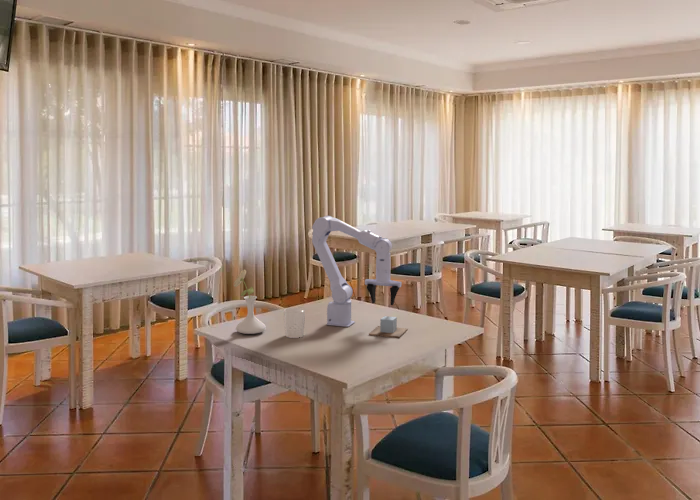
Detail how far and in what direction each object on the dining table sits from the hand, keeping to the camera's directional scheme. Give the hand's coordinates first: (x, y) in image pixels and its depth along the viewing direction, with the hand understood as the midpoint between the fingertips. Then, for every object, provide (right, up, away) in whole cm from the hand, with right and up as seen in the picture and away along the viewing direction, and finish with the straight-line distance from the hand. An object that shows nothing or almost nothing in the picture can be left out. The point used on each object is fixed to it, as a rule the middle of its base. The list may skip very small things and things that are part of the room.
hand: (382, 303), depth 249 cm
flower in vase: (-51, -11, -7) cm, 53 cm away
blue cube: (+2, -10, -7) cm, 12 cm away
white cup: (-34, -11, -11) cm, 37 cm away
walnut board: (+2, -10, -7) cm, 13 cm away
